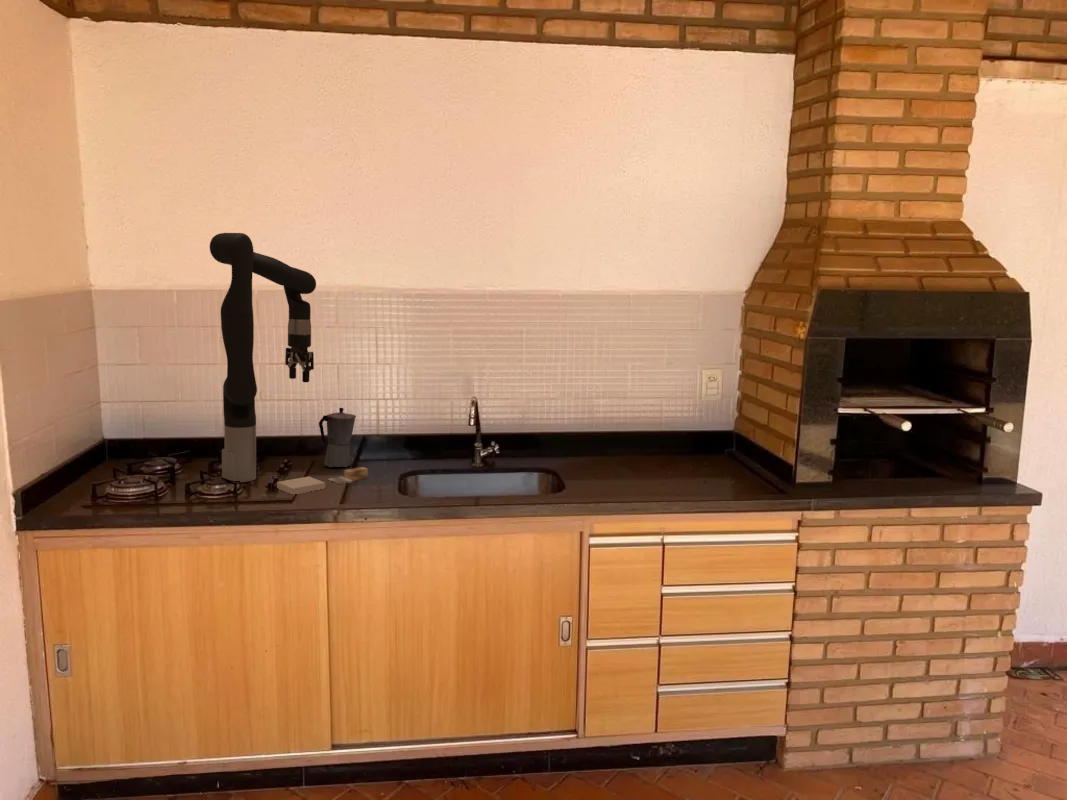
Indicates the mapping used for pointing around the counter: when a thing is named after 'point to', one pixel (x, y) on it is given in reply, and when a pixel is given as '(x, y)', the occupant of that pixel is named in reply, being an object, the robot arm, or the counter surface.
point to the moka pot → (338, 438)
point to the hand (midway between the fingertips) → (299, 380)
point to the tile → (300, 485)
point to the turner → (351, 475)
